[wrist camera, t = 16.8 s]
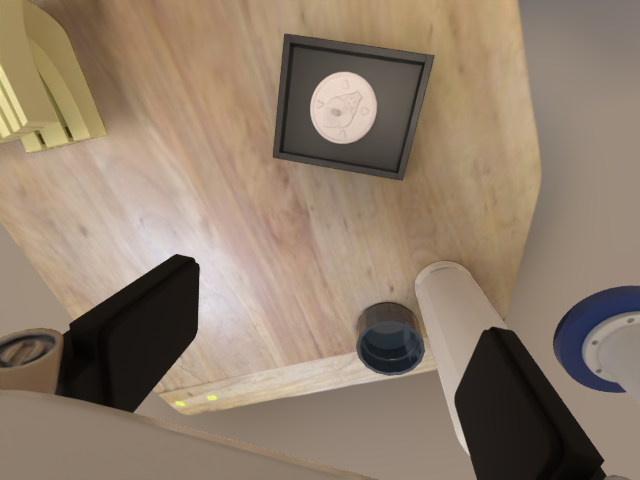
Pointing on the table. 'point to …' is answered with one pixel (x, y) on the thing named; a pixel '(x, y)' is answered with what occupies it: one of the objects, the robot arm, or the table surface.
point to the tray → (390, 91)
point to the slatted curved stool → (41, 82)
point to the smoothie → (343, 107)
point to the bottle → (453, 323)
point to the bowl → (389, 339)
